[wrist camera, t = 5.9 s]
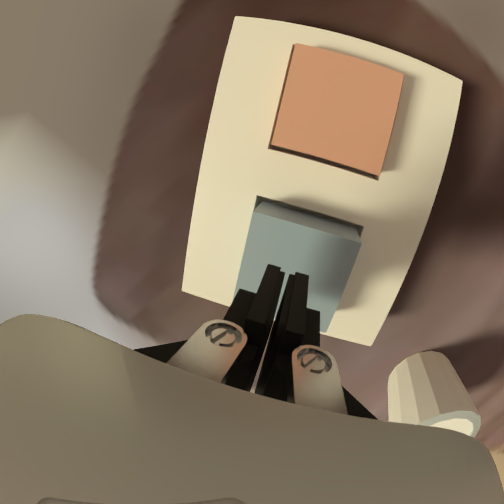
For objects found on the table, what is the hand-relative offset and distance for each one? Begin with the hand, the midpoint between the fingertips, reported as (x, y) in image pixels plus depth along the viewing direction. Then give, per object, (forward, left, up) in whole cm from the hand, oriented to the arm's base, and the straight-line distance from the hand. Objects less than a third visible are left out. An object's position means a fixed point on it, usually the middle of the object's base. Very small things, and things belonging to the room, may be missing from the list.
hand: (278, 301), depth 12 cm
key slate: (0, 0, -5) cm, 5 cm away
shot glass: (-13, +8, -8) cm, 17 cm away
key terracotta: (0, -8, -6) cm, 10 cm away
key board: (0, -4, -7) cm, 8 cm away
